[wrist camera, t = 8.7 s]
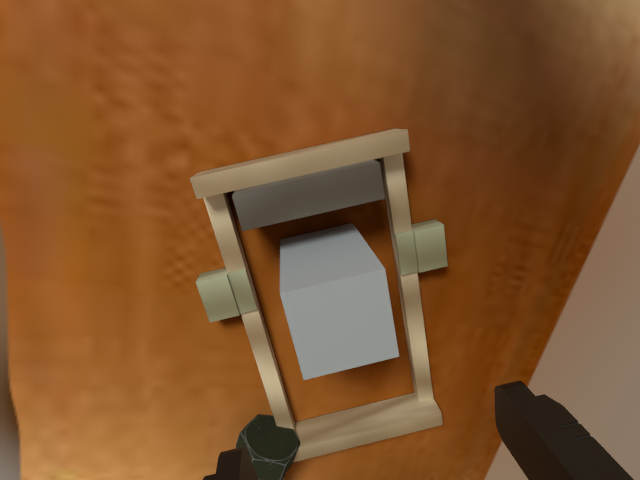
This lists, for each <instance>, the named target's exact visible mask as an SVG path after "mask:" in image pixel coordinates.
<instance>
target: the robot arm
mask: <svg viewBox="0 0 640 480" xmlns="http://www.w3.org/2000/svg"><path fill="white" fill-rule="evenodd" d="M495 418H496V426H497V429H498V432H499V434H500V436H501V439H502V440H503V442H504V444H505V445H506V447H507V448H508V450H509V451H510V453H511V454H512V456H513V457H514V459H515V460H516V461H517V463H518V465H519V466H520V468H521V469H522V470H523V472H524V473H525V475H526V476H527V478H528V479H529V480H633V479H632V478H631V477H630V475H629V474H628V473H627V472H626V471H625V470H624V469H623V468H622V467H621V466H620V465H619V464H618V463H617V462H616V461H615V460H614V459H613V458H612V457H611V455H610V454H609V453H608V452H607V451H606V450H605V449H604V448H603V447H602V446H601V445H600V444H599V443H598V442H597V441H596V440H595V439H594V438H593V437H591V436H590V433H589V432H588V431H587V430H586V429H585V428H584V427H583V426H582V425H581V424H579V423H578V421H577V420H576V419H575V418H574V417H573V416H572V415H571V414H570V413H569V412H568V410H567V409H565V407H564V406H562V405H561V404H559V403H558V402H556V401H554V400H553V399H551V398H549V397H548V396H546V395H540V396H535V395H534V394H533V393H532V392H531V391H530V390H529V389H528V387H527V386H526V385H525V384H524V383H523V382H521V381H516V382H511V383H507V384H503V385H499V386H496V387H495ZM203 480H258V477H257V474H256V471H255V469H254V466H253V464H252V461H251V458H250V456H249V453H248V451H247V448H246V447H241V448H236V449H232V450H228V451H224V452H221V453H220V455H219V458H218V464H217V470H216V474H213V475H209V476H205V477H204V479H203Z"/></svg>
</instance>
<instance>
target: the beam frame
mask: <svg viewBox="0 0 640 480" xmlns="http://www.w3.org/2000/svg"><path fill="white" fill-rule="evenodd" d="M409 151H410V145H409V137H408V130H406V129H390V130H386V131H381V132H377V133H372V134H368V135H363V136H359V137H354V138H350V139H345V140H341V141H337V142H332V143H328V144H323V145H319V146H314V147H310V148H305V149H301V150H296V151H292V152H287V153H283V154H278V155H274V156H269V157H265V158H260V159H256V160H251V161H247V162H242V163H238V164H233V165H229V166H224V167H220V168H215V169H211V170H206V171H202V172H199V173H197V174H196V175H194V176H192V177H191V178H190V180H191V183H192V186H193V190H194V193H195V196H196V199H200V198H204V201H205V204H206V208H207V211H208V214H209V217H210V220H211V223H212V226H213V229H214V232H215V236H216V239H217V242H218V245H219V248H220V251H221V254H222V257H223V260H224V263H225V267H226V268H222V269H218V270H214V271H209V272H205V273H201V274H200V275H199V277H198V279H197V281H196V285H197V287H198V290H199V293H200V296H201V299H202V301H203V304H204V307H205V310H206V313H207V315H208V318H209V321H210V322H214V321H218V320H222V319H226V318H231V317H235V316H239V315H240V314H241V316H242V319H243V323H244V326H245V329H246V332H247V335H248V338H249V341H250V344H251V347H252V350H253V354H254V357H255V360H256V363H257V366H258V369H259V372H260V375H261V378H262V382H263V385H264V388H265V391H266V394H267V397H268V400H269V403H270V406H271V410H272V413H273V416H274V419H275V422H276V425H277V426H279V427H285V428H291V429H294V431H295V433H296V435H297V437H298V439H299V441H300V443H301V444H300V447H299V448H298V451H297V453H296V456H295V459H294V461H293V462H297V461H301V460H305V459H309V458H313V457H317V456H321V455H325V454H329V453H333V452H337V451H341V450H345V449H349V448H353V447H357V446H361V445H365V444H369V443H373V442H376V441H380V440H384V439H388V438H392V437H396V436H400V435H404V434H408V433H412V432H416V431H420V430H424V429H428V428H432V427H436V426H440V425H443V422H442V414H441V411H440V409H439V408H438V406H437V404H436V402H435V400H434V399H433V391H432V384H431V376H430V368H429V360H428V352H427V344H426V336H425V328H424V320H423V312H422V304H421V297H420V289H419V281H418V273H417V272H419V273H421V272H425V271H429V270H433V269H438V268H442V267H446V266H448V263H447V253H446V242H445V232H444V225H443V224H442V223H440V222H439V221H437V220H436V219H434V220H429V221H425V222H421V223H416V224H412V225H411V217H410V210H409V202H408V194H407V186H406V178H405V170H404V162H403V154H402V153H404V152H409ZM377 158H380V162H378V161H375V160H373V159H377ZM380 165H381V167H380ZM381 171H382V174H381ZM382 178H383V180H382ZM383 185H384V187H383ZM231 191H235V192H234V193H233V195H232V198H233V201H234V205H235V208H236V212H237V215H238V219H239V222H240V225H241V229H242V231H246V230H250V229H255V228H259V227H263V226H268V225H272V224H277V223H281V222H285V221H290V220H294V219H298V218H303V217H307V216H312V215H316V214H320V213H325V212H329V211H333V210H338V209H342V208H347V207H351V206H355V205H360V204H364V203H368V202H373V201H377V200H381V199H385V198H386V205H387V212H388V219H389V225H390V232H391V239H392V246H393V253H394V259H395V266H396V273H397V280H398V286H399V293H400V300H401V307H402V313H403V320H404V327H405V334H406V340H407V347H408V354H409V361H410V367H411V374H412V381H413V388H414V393H412V394H408V395H403V396H399V397H395V398H391V399H387V400H383V401H379V402H375V403H371V404H367V405H363V406H359V407H355V408H351V409H347V410H343V411H339V412H335V413H331V414H327V415H323V416H319V417H315V418H311V419H307V420H303V421H299V422H294V419H293V415H292V412H291V409H290V405H289V402H288V398H287V395H286V392H285V388H284V385H283V382H282V378H281V375H280V372H279V368H278V365H277V362H276V358H275V355H274V352H273V348H272V345H271V342H270V338H269V335H268V332H267V328H266V325H265V321H264V318H263V315H262V311H261V308H260V305H259V301H258V298H257V295H256V291H255V288H254V285H253V281H252V278H251V275H250V271H249V268H248V265H247V261H246V258H245V255H244V251H243V248H242V244H241V241H240V238H239V234H238V231H237V228H236V224H235V221H234V218H233V214H232V211H231V208H230V204H229V201H228V198H227V194H226V192H231ZM384 192H385V194H384Z"/></svg>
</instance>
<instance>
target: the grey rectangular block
mask: <svg viewBox="0 0 640 480" xmlns="http://www.w3.org/2000/svg"><path fill="white" fill-rule="evenodd" d="M280 296H281V299H282V303H283V307H284V310H285V314H286V317H287V321H288V325H289V328H290V332H291V335H292V339H293V343H294V346H295V350H296V354H297V357H298V361H299V364H300V368H301V372H302V375H303V379H304V380H306V379H310V378H314V377H319V376H323V375H327V374H331V373H335V372H339V371H343V370H347V369H351V368H355V367H359V366H363V365H367V364H371V363H375V362H379V361H383V360H388V359H392V358H396V357H399V352H398V346H397V339H396V333H395V327H394V321H393V315H392V309H391V302H390V296H389V290H388V284H387V278H386V271H385V268H384V267H383V265H382V264H381V262H380V261H379V260H378V258H377V257H376V255H375V254H374V253H373V251H372V250H371V248H370V247H369V245H368V244H367V243H366V241H365V240H364V238H363V237H362V236H361V234H360V233H359V231H358V230H357V229H356V227H355V226H354V224H353V223H349V224H345V225H341V226H336V227H332V228H328V229H324V230H319V231H315V232H311V233H306V234H302V235H298V236H293V237H289V238H285V239H281V240H280Z"/></svg>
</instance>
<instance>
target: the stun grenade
mask: <svg viewBox="0 0 640 480" xmlns="http://www.w3.org/2000/svg"><path fill="white" fill-rule="evenodd" d="M300 444H301V443H300V441H299V439H298V437H297V435H296V433H295V431H294V429H291V428H285V427H279V426H277V425H276V422H275V419H274V416H270V415H260V414H258V415H257V416H256V417H255V418H254V419H253V420H251V421H250V422H249V423H248V424H247V426H246V427H245V428H244V429H243V430H242V431H241V432H240V434H239V437H238V440H237V443H236V448H241V447H246V448H247V451H248V453H249V456H250V458H251V461H252V464H253V466H254V469H255V471H256V474H257V477H258V480H283V478H284V476H285V473H286V472H287V470H288V469H289V467H290V466H291V464H292V463H293V461H294V459H295V456H296V453H297V451H298V448H299V447H300Z"/></svg>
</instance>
